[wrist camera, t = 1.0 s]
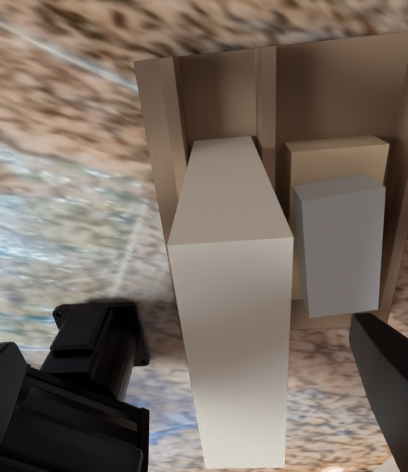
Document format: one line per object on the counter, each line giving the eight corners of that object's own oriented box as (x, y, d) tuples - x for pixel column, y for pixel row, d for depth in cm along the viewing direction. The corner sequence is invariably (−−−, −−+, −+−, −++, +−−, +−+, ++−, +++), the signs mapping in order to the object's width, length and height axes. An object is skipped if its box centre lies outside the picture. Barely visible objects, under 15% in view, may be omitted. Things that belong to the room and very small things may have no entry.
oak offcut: (351, 276, 21) (363, 295, 20) (281, 280, 22) (287, 299, 20) (372, 134, 17) (389, 144, 15) (284, 142, 17) (291, 152, 16)
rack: (361, 311, 25) (384, 354, 21) (183, 320, 26) (177, 362, 22) (409, 31, 16) (462, 25, 13) (139, 60, 17) (120, 62, 14)
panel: (254, 287, 22) (284, 467, 12) (210, 290, 22) (205, 468, 13) (250, 136, 17) (293, 237, 8) (194, 141, 18) (167, 245, 8)
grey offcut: (363, 286, 19) (377, 309, 18) (300, 294, 20) (309, 318, 18) (367, 173, 16) (385, 187, 14) (292, 186, 17) (301, 201, 15)
